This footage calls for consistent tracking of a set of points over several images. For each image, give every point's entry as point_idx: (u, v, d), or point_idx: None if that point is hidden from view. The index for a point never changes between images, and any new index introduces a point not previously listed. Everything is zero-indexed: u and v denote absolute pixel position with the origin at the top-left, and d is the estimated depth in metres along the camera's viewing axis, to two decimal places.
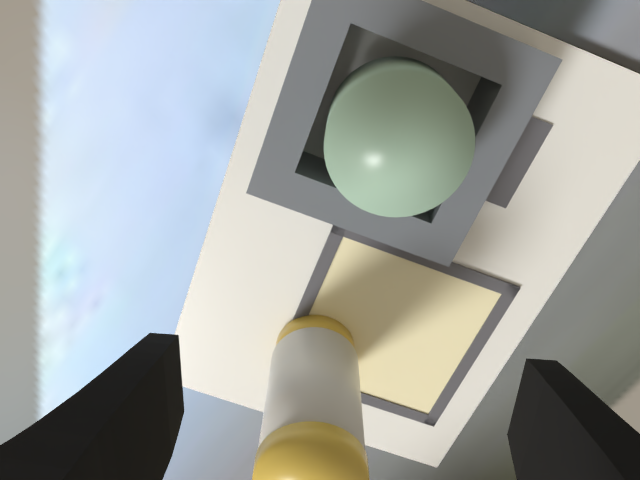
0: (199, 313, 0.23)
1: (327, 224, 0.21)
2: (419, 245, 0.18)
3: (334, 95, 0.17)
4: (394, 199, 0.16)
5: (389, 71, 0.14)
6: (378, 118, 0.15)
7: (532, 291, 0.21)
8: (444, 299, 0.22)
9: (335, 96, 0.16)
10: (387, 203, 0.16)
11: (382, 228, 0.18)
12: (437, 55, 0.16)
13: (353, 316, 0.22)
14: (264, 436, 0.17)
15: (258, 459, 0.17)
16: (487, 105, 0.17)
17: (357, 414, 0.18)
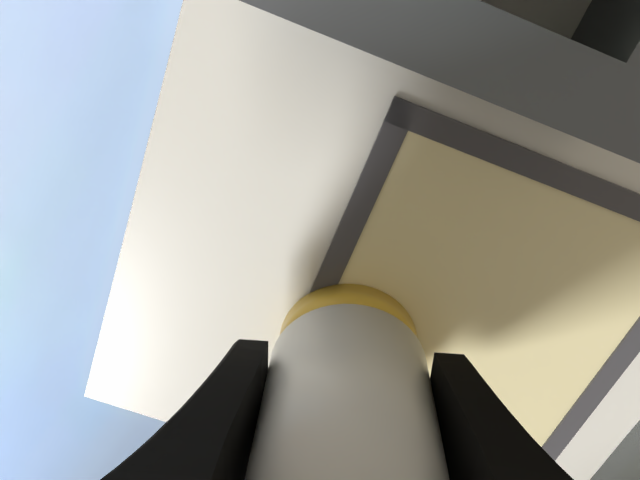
0: (145, 281, 0.13)
1: (378, 107, 0.11)
2: (591, 118, 0.09)
3: None
4: None
5: None
6: None
7: None
8: (586, 254, 0.12)
9: None
10: None
11: (516, 76, 0.08)
12: None
13: (417, 286, 0.13)
14: None
15: None
16: None
17: None
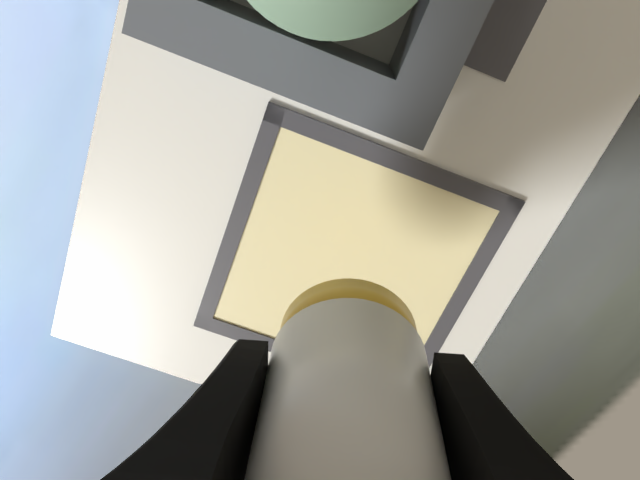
0: (94, 242, 0.17)
1: (258, 109, 0.15)
2: (379, 117, 0.13)
3: None
4: (329, 8, 0.10)
5: None
6: None
7: (541, 207, 0.16)
8: (422, 220, 0.16)
9: None
10: (319, 17, 0.10)
11: (324, 89, 0.12)
12: None
13: (299, 245, 0.17)
14: None
15: None
16: None
17: (445, 476, 0.09)
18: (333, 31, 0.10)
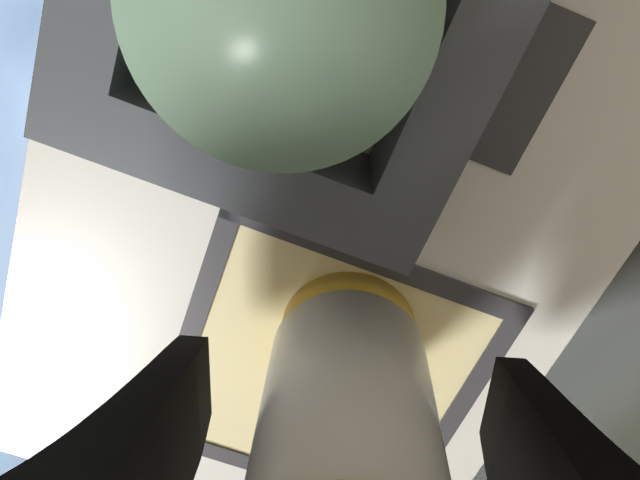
0: (25, 347, 0.14)
1: None
2: (353, 237, 0.10)
3: None
4: (277, 133, 0.07)
5: None
6: None
7: (553, 315, 0.13)
8: None
9: None
10: (263, 144, 0.07)
11: (283, 204, 0.10)
12: None
13: (266, 353, 0.14)
14: None
15: None
16: None
17: (442, 459, 0.09)
18: (283, 161, 0.07)
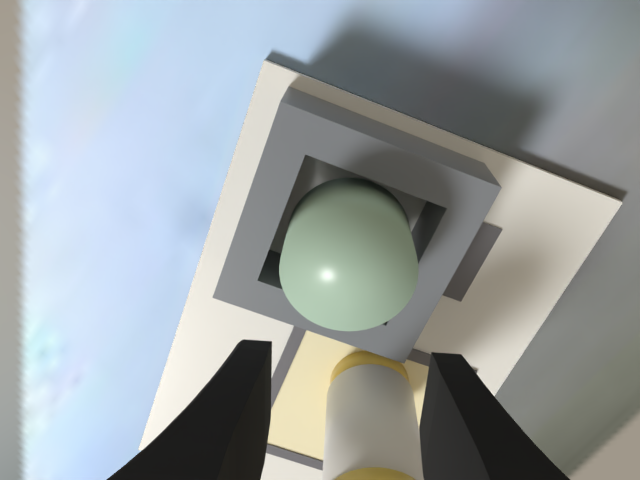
0: (174, 391, 0.24)
1: None
2: (376, 344, 0.19)
3: (293, 212, 0.18)
4: (346, 316, 0.17)
5: (337, 208, 0.15)
6: (329, 248, 0.16)
7: (488, 374, 0.23)
8: None
9: (293, 216, 0.17)
10: (339, 319, 0.17)
11: None
12: (386, 182, 0.17)
13: (320, 395, 0.24)
14: (329, 479, 0.18)
15: None
16: (435, 223, 0.18)
17: (420, 458, 0.18)
18: (348, 326, 0.17)
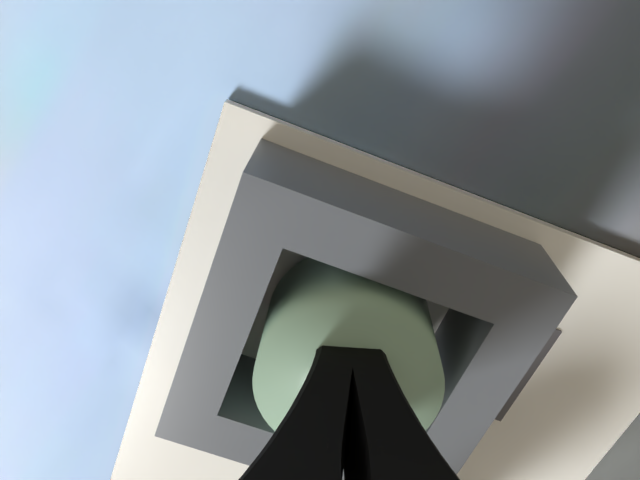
0: None
1: None
2: None
3: (274, 293, 0.13)
4: None
5: (332, 305, 0.11)
6: None
7: None
8: None
9: (273, 302, 0.13)
10: None
11: None
12: (404, 287, 0.11)
13: None
14: None
15: None
16: (474, 339, 0.12)
17: None
18: None
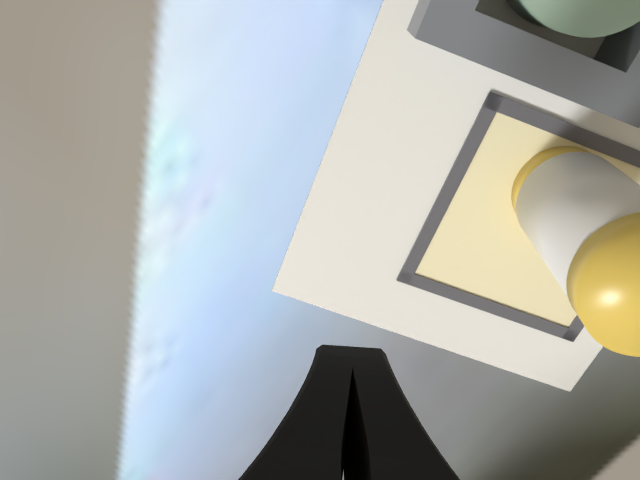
0: (323, 210, 0.20)
1: (479, 98, 0.18)
2: (607, 102, 0.16)
3: None
4: (591, 15, 0.15)
5: None
6: None
7: None
8: None
9: None
10: (583, 21, 0.15)
11: (568, 80, 0.16)
12: None
13: (496, 210, 0.20)
14: (582, 238, 0.14)
15: (591, 256, 0.13)
16: None
17: None
18: (591, 30, 0.15)
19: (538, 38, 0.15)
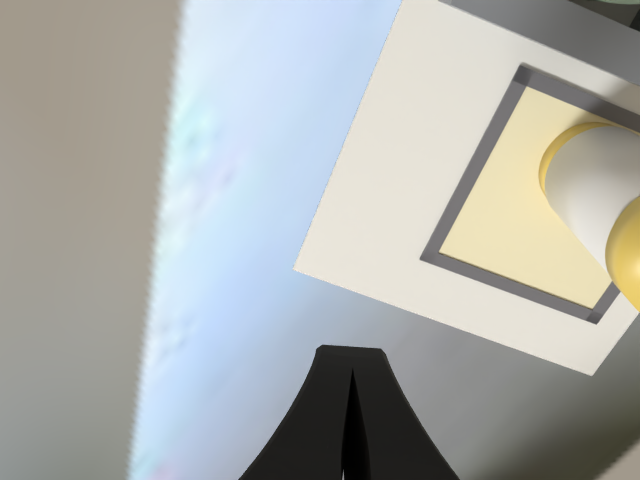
0: (347, 186, 0.20)
1: (509, 72, 0.18)
2: None
3: None
4: None
5: None
6: None
7: None
8: None
9: None
10: None
11: (604, 49, 0.15)
12: None
13: (523, 188, 0.20)
14: (623, 205, 0.14)
15: (634, 221, 0.13)
16: None
17: None
18: None
19: (575, 5, 0.15)
